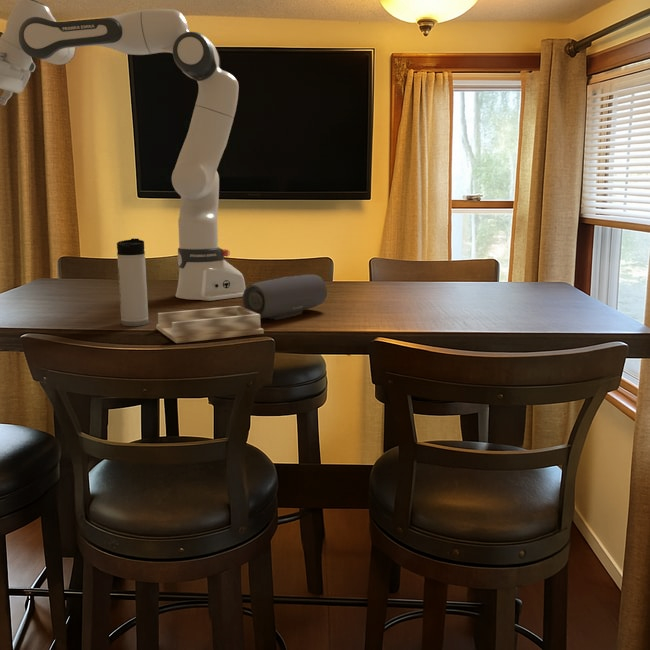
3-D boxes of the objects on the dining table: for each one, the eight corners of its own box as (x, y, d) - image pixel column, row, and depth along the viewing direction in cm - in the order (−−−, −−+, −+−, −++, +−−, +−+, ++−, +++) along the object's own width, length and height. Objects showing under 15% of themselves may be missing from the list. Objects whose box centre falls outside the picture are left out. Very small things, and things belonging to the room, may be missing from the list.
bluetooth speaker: (301, 307, 186) (301, 270, 184) (328, 312, 180) (328, 274, 178) (240, 320, 168) (239, 280, 166) (268, 326, 163) (267, 284, 161)
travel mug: (152, 321, 167) (148, 238, 163) (143, 326, 161) (138, 241, 157) (127, 320, 168) (123, 238, 164) (117, 326, 161) (112, 240, 157)
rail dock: (237, 320, 168) (237, 304, 167) (263, 333, 154) (263, 316, 154) (156, 328, 159) (155, 311, 158) (176, 343, 145) (175, 324, 144)
